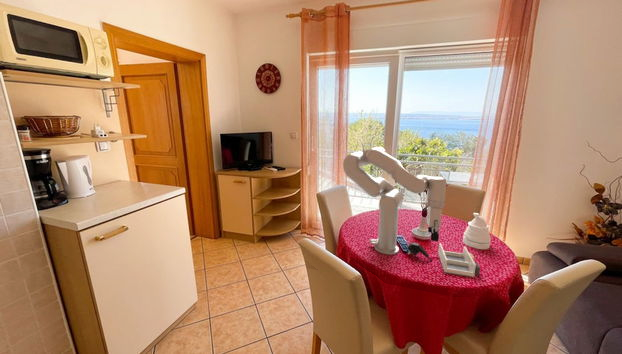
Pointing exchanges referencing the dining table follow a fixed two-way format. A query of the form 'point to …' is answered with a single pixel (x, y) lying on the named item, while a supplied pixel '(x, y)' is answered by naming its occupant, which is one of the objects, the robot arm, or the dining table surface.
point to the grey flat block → (477, 269)
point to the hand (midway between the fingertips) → (432, 236)
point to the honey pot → (477, 233)
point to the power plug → (417, 249)
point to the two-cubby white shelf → (457, 262)
